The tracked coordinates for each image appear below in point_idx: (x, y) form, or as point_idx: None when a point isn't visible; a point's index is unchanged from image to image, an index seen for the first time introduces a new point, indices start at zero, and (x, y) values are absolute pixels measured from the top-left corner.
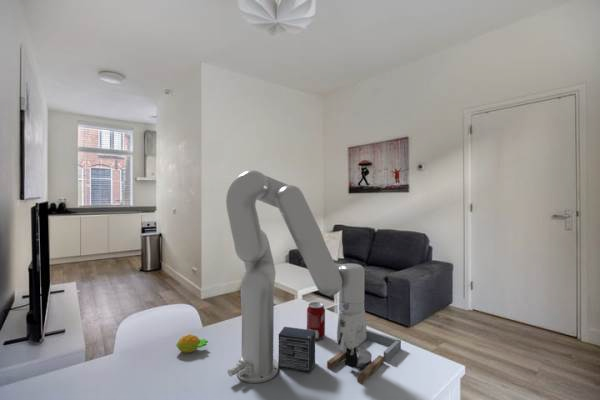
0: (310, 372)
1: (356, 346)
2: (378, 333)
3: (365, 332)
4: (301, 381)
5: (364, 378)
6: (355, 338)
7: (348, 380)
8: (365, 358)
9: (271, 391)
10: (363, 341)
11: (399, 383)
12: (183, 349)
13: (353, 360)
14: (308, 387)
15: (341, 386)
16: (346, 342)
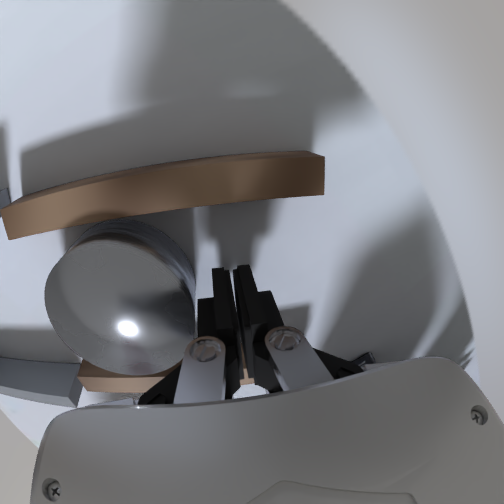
0: (371, 354)
1: (219, 386)
2: None
3: (53, 485)
4: (416, 332)
5: (283, 154)
6: (427, 471)
7: (326, 227)
8: (125, 266)
9: (463, 333)
10: (13, 359)
11: (129, 5)
12: None
13: (258, 298)
14: (434, 299)
15: (385, 223)
16: (473, 419)
